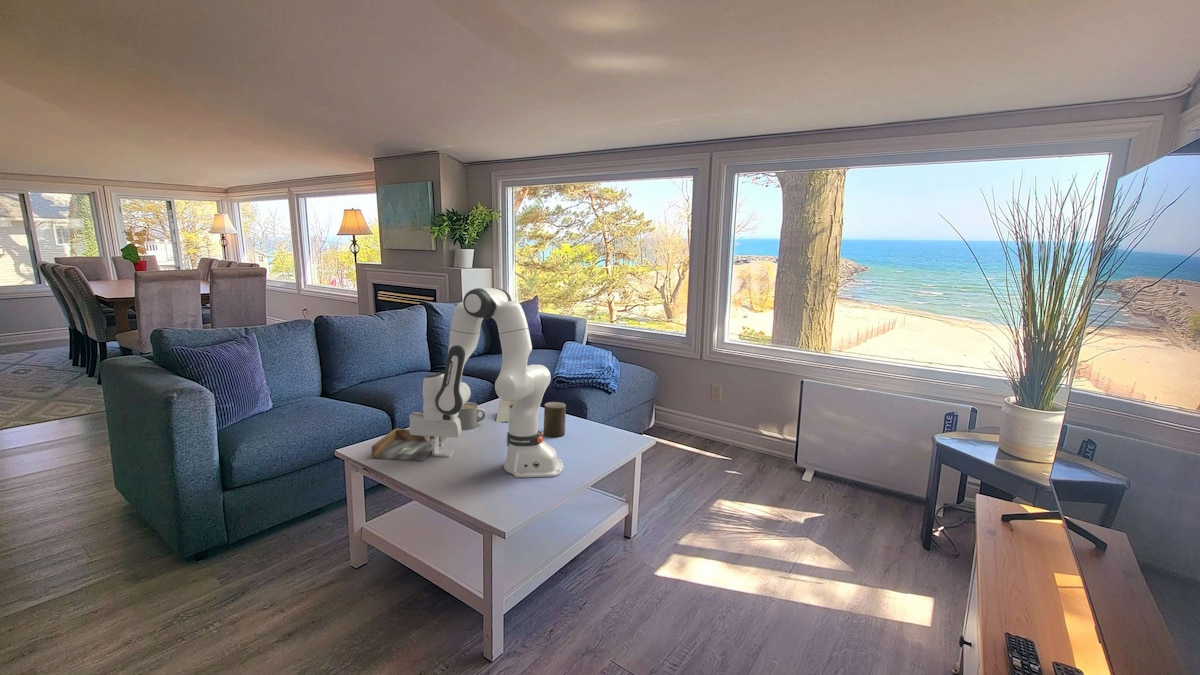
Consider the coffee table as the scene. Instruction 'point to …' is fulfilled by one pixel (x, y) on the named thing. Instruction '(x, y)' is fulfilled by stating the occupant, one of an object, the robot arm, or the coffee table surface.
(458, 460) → the coffee table surface
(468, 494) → the coffee table surface
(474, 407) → the coffee mug
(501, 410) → the wall
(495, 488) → the coffee table surface
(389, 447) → the tray
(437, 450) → the aluminium bracket
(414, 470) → the coffee table surface
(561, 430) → the pillar candle
